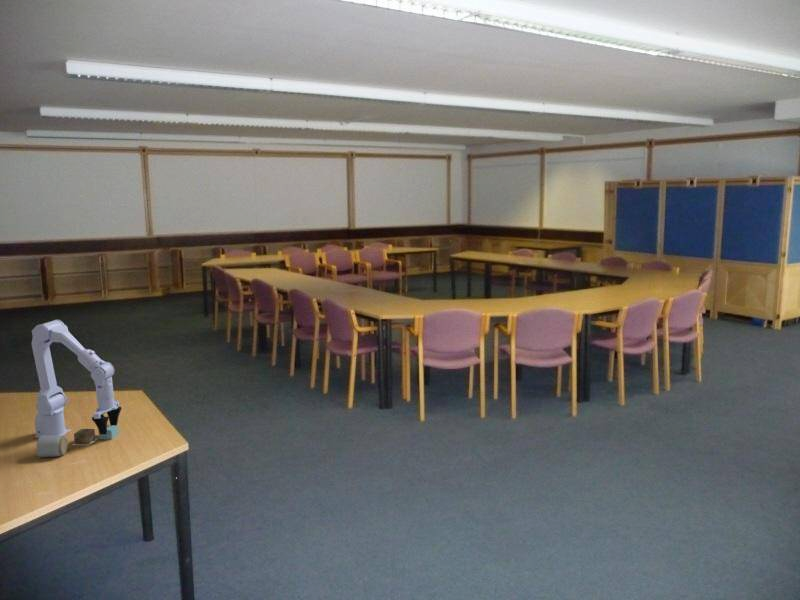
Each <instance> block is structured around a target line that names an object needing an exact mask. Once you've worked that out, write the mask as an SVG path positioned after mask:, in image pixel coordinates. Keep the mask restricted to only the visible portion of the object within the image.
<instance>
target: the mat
mask: <svg viewBox="0 0 800 600" xmlns="http://www.w3.org/2000/svg"><path fill="white" fill-rule="evenodd" d="M98 439H99V437H97V438H96V437H95V440H93V441H92V442H91V443H89V444H75V442H74V443H73V444H71V445H72V446H90V445H92V444H93V443H94V442H96V441H97V440H98Z"/></svg>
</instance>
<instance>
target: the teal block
mask: <svg viewBox="0 0 800 600" xmlns="http://www.w3.org/2000/svg"><path fill="white" fill-rule="evenodd" d="M97 431H98V439H99V440H111V441H113V440H114V439H115V438H116V437H118V436H119V434H120V431H119V425H118V424H117V425H110V424H107V434H105V435H102V434H100V432H99V430H97Z"/></svg>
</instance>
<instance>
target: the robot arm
mask: <svg viewBox="0 0 800 600" xmlns="http://www.w3.org/2000/svg"><path fill="white" fill-rule="evenodd" d="M31 333H32V340H31V349H32V353H33V358H34V362H35V363H34V364H35V367H36V373H37V377H38V383H39V387H40V389H39V392H38V394H36V404H35V408H36V411H37V413H36V415H35V418H34V425H35V434H36V435H35V438H37V439H39V437H40V436H41V435H61V436H65V435H66V434H68V432H70V431H71V429H70V428H66V423H65V421H66V420H65V413H64V410H65V406H66V405H67V402H68V399H67V396H66V394H65V393H64V390H63V388H62V387H61V386H58V383H57V378H56V374H55V370H54V369H55V368H54V363H53V359H52V354H51V350H50V346H51V344H52V343H61V344H62V345H64V346H65V347H66V348H67V349H68V350H70V351H71V352H72V353H74V354H75V355H76V356H77V361H78V363H80V364H81V365H82V366H83V367H84V368H86V370H88V371H89V372H90V377H91V379H92V380H93V382H94V385H95V390H96V391H95V394H96V401H97V402H96V403H97V407H96V411H95V412H94V413H93V416H92V417H91V420H92V421H93V423H94V424H95V426H96V427H97V429H98V430H99V431H98V430H97V431H98V433H99V432H100V434H102V435H105V434H107V425H108V421H109V425H118V422H119V416H120V413H121V411H122V406H120V402H119V400H116V399H115V397H114V396H115V394H114V393H115V392H114V386H113V385H114V384H113V383H114V382H113V375H114V374H115V367H114V366H113V364H112V363H111V362H109V361H105V360H103V359H101V358H100V357H99V356H98V355H97V354H96V352H95V350H92V349H86V348H85V347H84V346H83V345H82V344H81V343H80V342H79V341H78V339H76V338H75V337H74V336H73V334H71V332H70V331H69V329H68V326H67V325H66V324H65V323H64V322H63V321H62V320H61V319H53V320H52V321H48V322H45V323H42V324H37V325H36V326H35V327H34V328H33V329H32V330H31ZM105 414H107V416H105Z"/></svg>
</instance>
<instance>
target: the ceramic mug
mask: <svg viewBox="0 0 800 600" xmlns="http://www.w3.org/2000/svg"><path fill="white" fill-rule="evenodd" d="M68 441H69V440H68V438H67V437H66V436H65V435H63V436H61V435H41V436H40V437H39V438H37V443H36V454H37V457H38V458H55V457H62V456H64V455H65V454H66V453H67V452H68V447H69V442H68Z"/></svg>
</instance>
